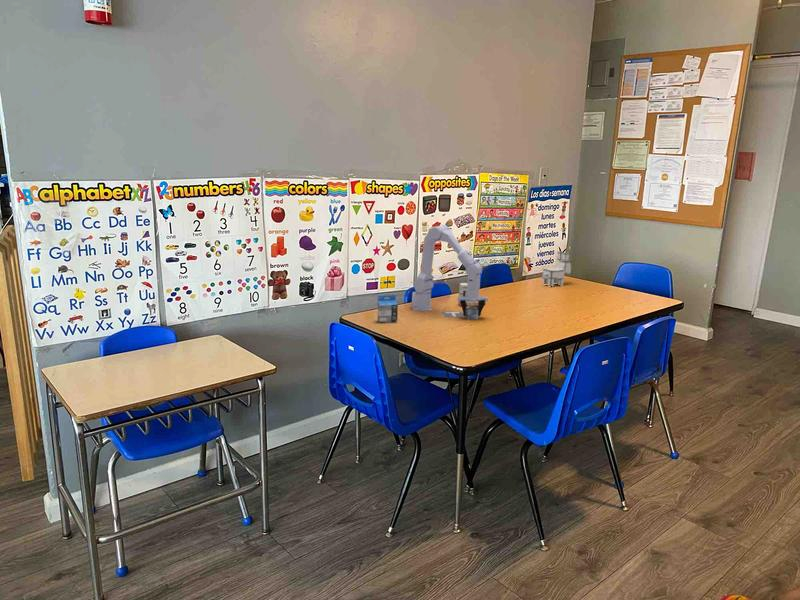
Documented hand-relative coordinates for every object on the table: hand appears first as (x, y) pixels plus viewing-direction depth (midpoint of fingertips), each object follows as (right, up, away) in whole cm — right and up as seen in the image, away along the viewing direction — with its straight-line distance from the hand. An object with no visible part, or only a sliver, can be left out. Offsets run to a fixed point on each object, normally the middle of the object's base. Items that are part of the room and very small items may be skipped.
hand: (471, 315), depth 286 cm
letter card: (-8, 0, +6) cm, 10 cm away
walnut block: (+3, +1, +9) cm, 10 cm away
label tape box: (-40, -3, -8) cm, 41 cm away
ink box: (+1, +4, +24) cm, 24 cm away
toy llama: (+60, +16, +77) cm, 99 cm away
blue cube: (0, -1, 0) cm, 2 cm away
